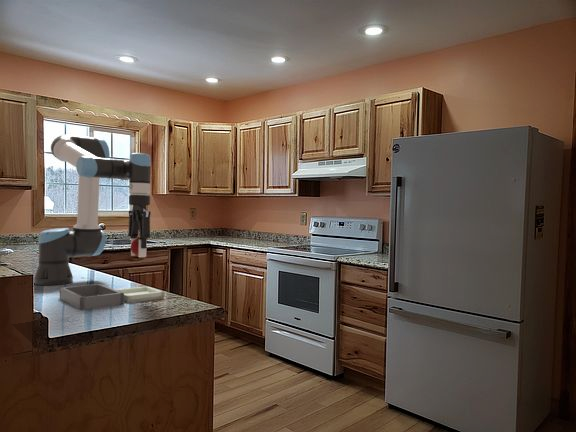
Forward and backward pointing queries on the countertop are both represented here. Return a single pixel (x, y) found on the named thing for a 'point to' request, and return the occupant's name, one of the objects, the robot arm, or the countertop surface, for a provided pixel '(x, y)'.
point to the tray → (141, 294)
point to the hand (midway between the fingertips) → (138, 256)
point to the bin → (91, 296)
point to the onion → (136, 246)
